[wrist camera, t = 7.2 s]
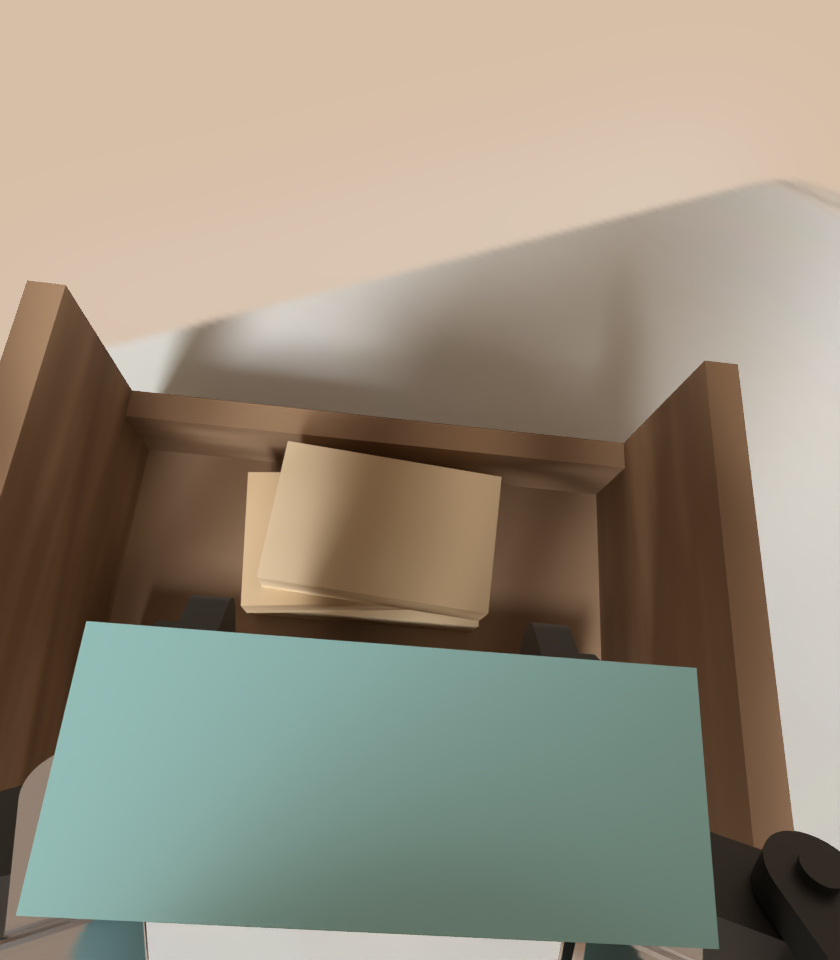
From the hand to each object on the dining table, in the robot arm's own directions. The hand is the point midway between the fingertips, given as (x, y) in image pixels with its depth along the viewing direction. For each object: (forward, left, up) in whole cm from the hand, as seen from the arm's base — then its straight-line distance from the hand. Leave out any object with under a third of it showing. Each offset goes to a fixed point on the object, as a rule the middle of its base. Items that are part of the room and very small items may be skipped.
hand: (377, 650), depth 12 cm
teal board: (0, +2, -5) cm, 6 cm away
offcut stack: (0, -5, -12) cm, 13 cm away
